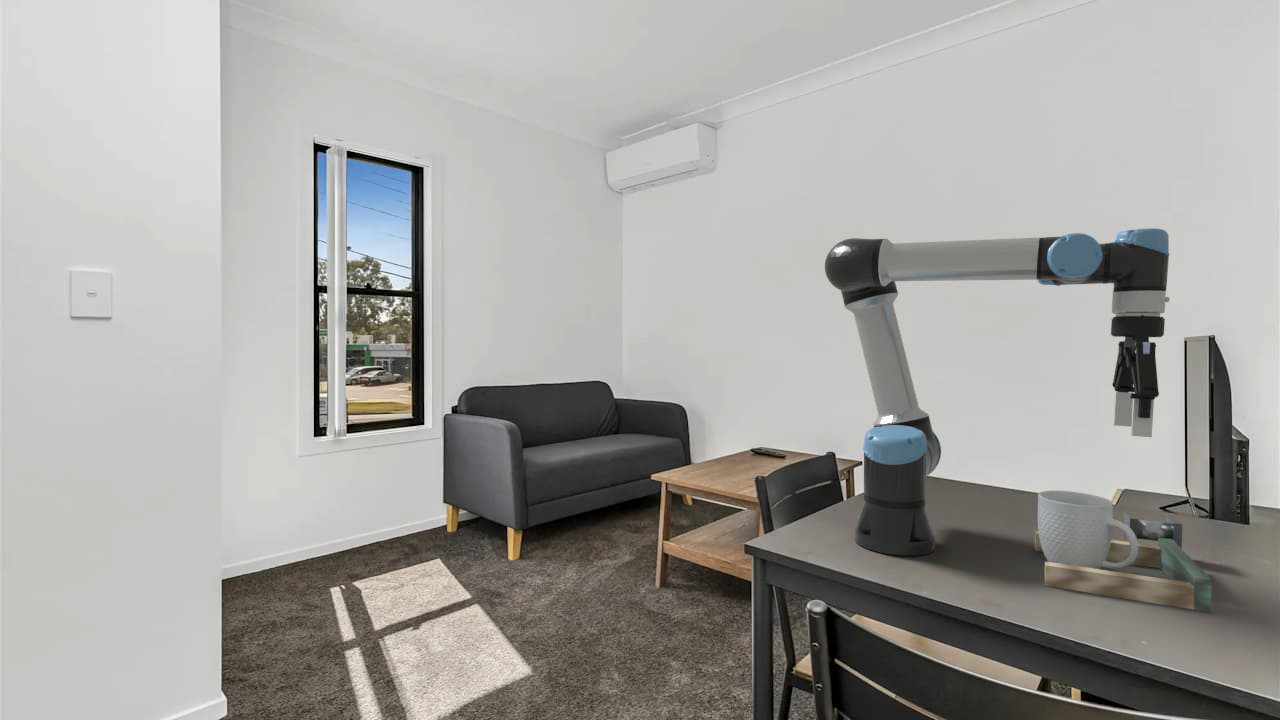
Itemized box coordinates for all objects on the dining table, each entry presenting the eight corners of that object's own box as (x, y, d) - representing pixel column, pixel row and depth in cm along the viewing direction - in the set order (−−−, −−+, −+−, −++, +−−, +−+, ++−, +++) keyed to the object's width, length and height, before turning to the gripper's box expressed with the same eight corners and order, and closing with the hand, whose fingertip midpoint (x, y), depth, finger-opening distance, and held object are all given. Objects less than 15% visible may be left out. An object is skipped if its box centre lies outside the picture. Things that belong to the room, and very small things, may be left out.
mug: (1148, 579, 105) (1150, 504, 104) (1123, 594, 99) (1125, 515, 98) (1052, 554, 117) (1053, 487, 117) (1025, 566, 111) (1026, 495, 111)
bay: (1045, 585, 102) (1046, 556, 102) (1034, 547, 121) (1035, 522, 120) (1210, 612, 92) (1211, 580, 92) (1171, 566, 111) (1172, 539, 110)
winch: (1128, 558, 115) (1129, 519, 114) (1121, 548, 120) (1122, 510, 120) (1183, 565, 111) (1184, 525, 111) (1174, 555, 116) (1175, 516, 116)
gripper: (1187, 313, 98) (1179, 443, 99) (1145, 317, 120) (1139, 423, 121) (1129, 313, 101) (1122, 439, 102) (1098, 317, 123) (1092, 420, 124)
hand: (1131, 431), depth 112 cm, fingers open, 13 cm apart
